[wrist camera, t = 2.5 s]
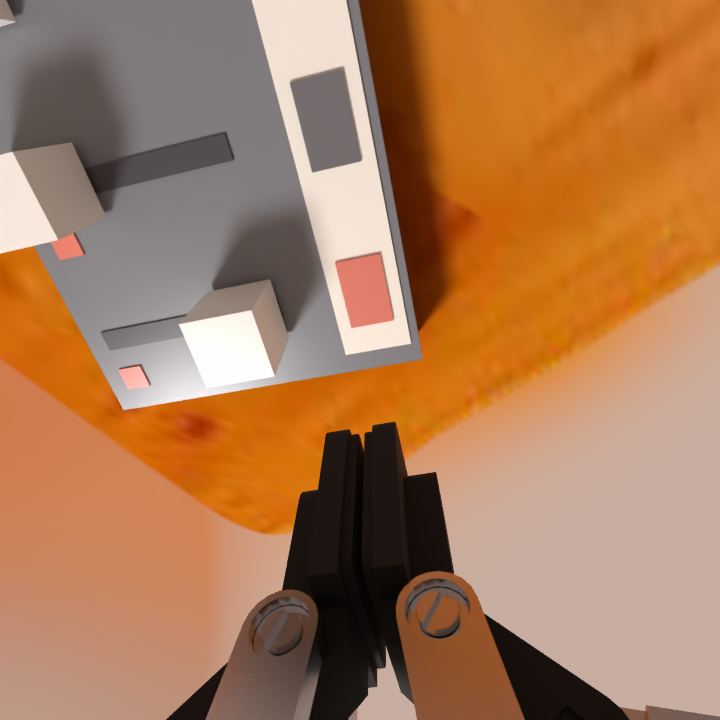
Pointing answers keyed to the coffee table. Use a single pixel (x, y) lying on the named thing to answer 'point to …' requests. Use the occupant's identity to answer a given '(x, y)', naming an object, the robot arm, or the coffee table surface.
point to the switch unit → (214, 179)
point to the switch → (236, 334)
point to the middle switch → (44, 196)
